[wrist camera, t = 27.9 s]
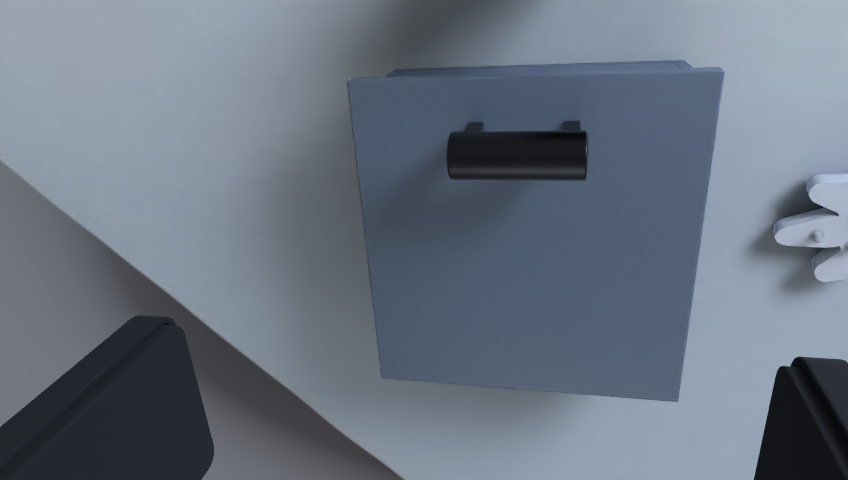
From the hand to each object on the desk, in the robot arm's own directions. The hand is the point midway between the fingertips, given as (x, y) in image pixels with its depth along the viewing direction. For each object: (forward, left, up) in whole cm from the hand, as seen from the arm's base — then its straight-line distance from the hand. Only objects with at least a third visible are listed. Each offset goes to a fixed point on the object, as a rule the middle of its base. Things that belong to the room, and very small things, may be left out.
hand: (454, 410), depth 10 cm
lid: (+2, +5, -19) cm, 20 cm away
